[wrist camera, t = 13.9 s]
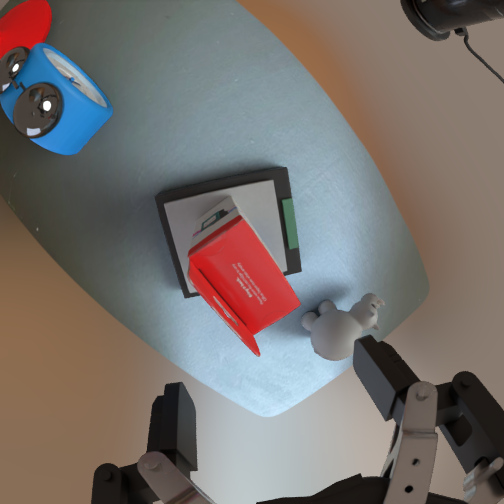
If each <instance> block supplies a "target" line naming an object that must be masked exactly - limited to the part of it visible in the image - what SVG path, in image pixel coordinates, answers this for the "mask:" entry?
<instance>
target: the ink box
mask: <svg viewBox="0 0 504 504" xmlns="http://www.w3.org/2000/svg"><path fill="white" fill-rule="evenodd" d="M187 258H188V261H189V265H188V272H187V278H188V280H189V282H190V283H191V285H192V286H193V287H194V288H195V289H196V290H197V291H198V293H199V294H200V295H201V296H202V297H203V298H204V300H205V301H206V302H207V303H208V304H209V305H210V306H211V308H212V309H213V310H214V311H215V312H216V313H217V314H218V316H219V317H220V318H221V319H222V320H223V321H224V322H225V323H226V324H227V326H228V327H229V328H230V329H231V330H232V331H233V332H234V333H235V334H236V335H237V336H238V337H239V338H240V339H241V340H242V341H243V343H244V344H245V345H246V346H247V347H248V348H249V349H250V350H251V351H252V352H253V353H254V354H255V355H256V356H257V357H259V356H260V352H259V348H258V346H257V343H256V341H255V339H254V337H253V335H255V334H256V333H258V332H260V331H261V330H263V329H265V328H266V327H268V326H270V325H271V324H273V323H275V322H276V321H278V320H280V319H281V318H283V317H284V316H286V315H287V314H289V313H290V312H292V311H293V310H295V309H296V308H297V307H299V306H300V305H301V303H300V301H299V300H298V298H297V296H296V295H295V293H294V291H293V289H292V288H291V286H290V284H289V283H288V281H287V279H286V278H285V276H284V274H283V272H282V271H281V269H280V267H279V266H278V264H277V262H276V260H275V259H274V257H273V255H272V253H271V252H270V250H269V249H268V247H267V246H266V244H265V243H264V241H263V240H262V239H261V237H260V236H259V234H258V233H257V231H256V230H255V228H254V227H253V225H252V224H251V223H250V221H249V220H248V218H247V217H246V215H245V214H244V213H243V211H242V210H241V208H240V207H239V205H238V204H237V203H236V201H235V200H234V198H233V197H232V196H229V197H227V198H226V199H224V200H223V201H222V202H220V203H219V204H218V205H216V206H215V207H214V208H212V209H211V210H209V211H208V212H207V213H205V214H204V215H203V216H201V217H200V218H199V219H197V220H196V222H195V227H194V231H193V235H192V240H191V244H190V248H189V252H188V255H187ZM223 310H224V311H225V313H226V314H227V315H228V316H229V317H230V318H229V317H227V316H226V314H225V313H224V311H223Z"/></svg>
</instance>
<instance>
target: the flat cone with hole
mask: <svg viewBox="0 0 504 504" xmlns="http://www.w3.org/2000/svg"><path fill="white" fill-rule="evenodd" d="M51 21H52V11H51V8H50V6H49V4H48V2H47V1H45V0H29V1H26V2H23V3H21V4H19V5H17V6H16V7H14V8H13V9H11V10H10V11H9V12H8V13H7V14H5V15H4V16H3V17H2V18H1V19H0V59H1V58H2V56H3V55H4V54H6V53H7V52H8V51H9V50H11V49H12V48H15V47H17V46H26V47H28V48H29V49H30V50H31V48H32V47H33V46H34V45H35V44H37V43H44V42H45V40H46V37H47V35H48V33H49V30H50V26H51Z"/></svg>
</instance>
